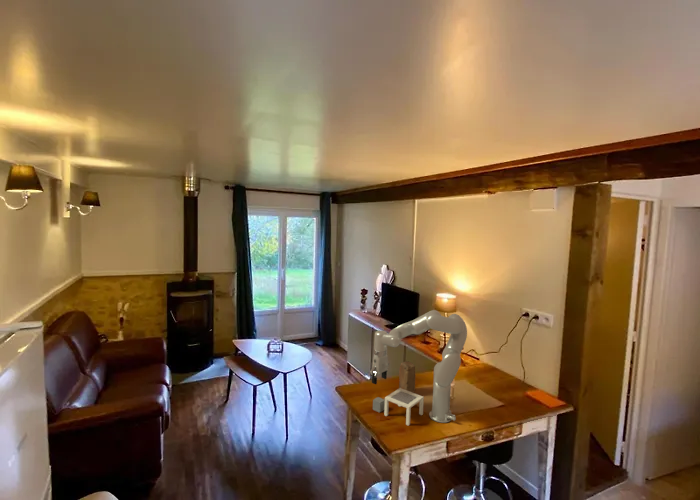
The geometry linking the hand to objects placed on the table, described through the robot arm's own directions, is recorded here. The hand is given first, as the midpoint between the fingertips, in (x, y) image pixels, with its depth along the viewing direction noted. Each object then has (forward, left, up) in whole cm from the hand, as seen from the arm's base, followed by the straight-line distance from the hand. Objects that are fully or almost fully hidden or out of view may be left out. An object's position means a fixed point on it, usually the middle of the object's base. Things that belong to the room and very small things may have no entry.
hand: (379, 380), depth 217 cm
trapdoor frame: (-14, -5, -17) cm, 23 cm away
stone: (0, 0, -18) cm, 18 cm away
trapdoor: (-14, -5, -8) cm, 17 cm away
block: (-1, -29, -18) cm, 34 cm away
